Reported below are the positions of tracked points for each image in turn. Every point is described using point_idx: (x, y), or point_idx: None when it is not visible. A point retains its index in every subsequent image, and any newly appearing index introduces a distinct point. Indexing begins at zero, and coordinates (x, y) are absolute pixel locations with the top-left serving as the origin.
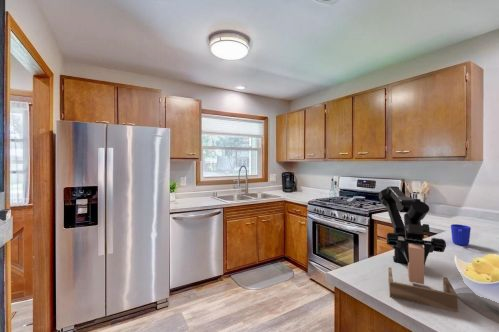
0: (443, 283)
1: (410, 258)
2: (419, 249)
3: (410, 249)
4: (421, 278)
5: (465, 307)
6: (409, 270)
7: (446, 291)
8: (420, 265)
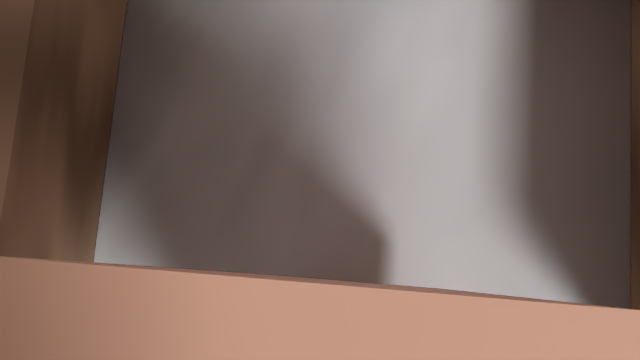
0: None
1: (480, 293)
2: (170, 276)
3: (565, 303)
4: (289, 276)
5: None
6: (455, 290)
7: (75, 162)
8: (269, 275)
